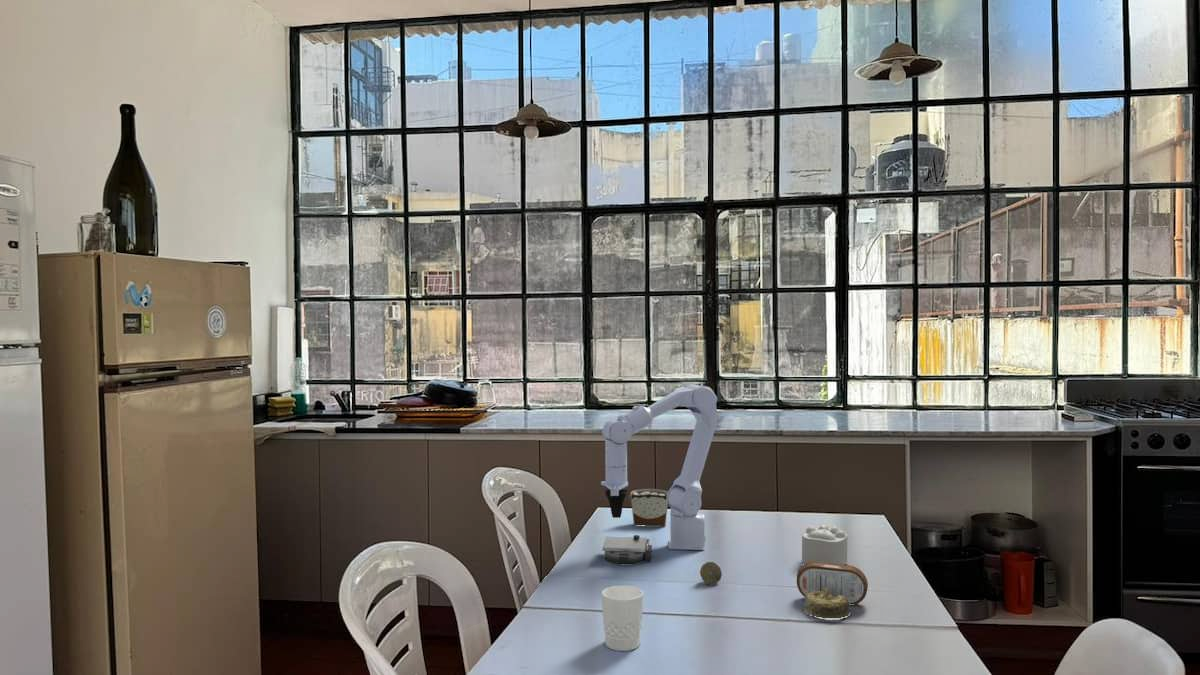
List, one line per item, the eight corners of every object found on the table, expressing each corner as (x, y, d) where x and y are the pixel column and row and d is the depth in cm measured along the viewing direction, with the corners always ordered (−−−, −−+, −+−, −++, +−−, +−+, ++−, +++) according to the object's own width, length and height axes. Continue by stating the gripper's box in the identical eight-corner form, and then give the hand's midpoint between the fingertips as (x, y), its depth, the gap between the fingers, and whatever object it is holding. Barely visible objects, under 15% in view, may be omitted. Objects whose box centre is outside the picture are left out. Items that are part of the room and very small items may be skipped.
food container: (670, 521, 240) (670, 488, 239) (670, 526, 234) (670, 493, 233) (630, 520, 241) (630, 488, 241) (628, 525, 235) (628, 492, 235)
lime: (723, 582, 185) (723, 561, 185) (711, 588, 182) (712, 566, 182) (708, 578, 188) (708, 557, 188) (696, 583, 185) (696, 562, 185)
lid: (649, 540, 208) (649, 534, 208) (648, 552, 198) (648, 545, 198) (606, 539, 209) (606, 533, 209) (602, 550, 200) (602, 544, 199)
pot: (652, 549, 212) (652, 537, 211) (650, 569, 195) (650, 556, 195) (607, 547, 213) (607, 536, 213) (601, 567, 196) (601, 555, 196)
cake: (844, 628, 160) (843, 602, 160) (796, 619, 166) (795, 594, 165) (856, 608, 169) (855, 584, 168) (810, 600, 174) (809, 576, 174)
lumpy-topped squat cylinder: (797, 565, 198) (798, 531, 198) (812, 551, 209) (812, 519, 209) (839, 572, 193) (839, 537, 192) (852, 558, 204) (852, 524, 203)
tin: (867, 603, 172) (867, 565, 171) (867, 609, 169) (867, 570, 168) (796, 596, 176) (796, 558, 176) (795, 600, 174) (795, 563, 173)
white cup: (600, 636, 155) (600, 586, 154) (640, 634, 155) (640, 584, 155) (604, 653, 147) (603, 600, 146) (645, 652, 147) (645, 599, 147)
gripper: (603, 460, 214) (603, 509, 215) (598, 471, 200) (599, 524, 200) (629, 460, 214) (629, 510, 214) (626, 471, 199) (626, 524, 200)
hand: (616, 517), depth 207 cm, fingers closed
